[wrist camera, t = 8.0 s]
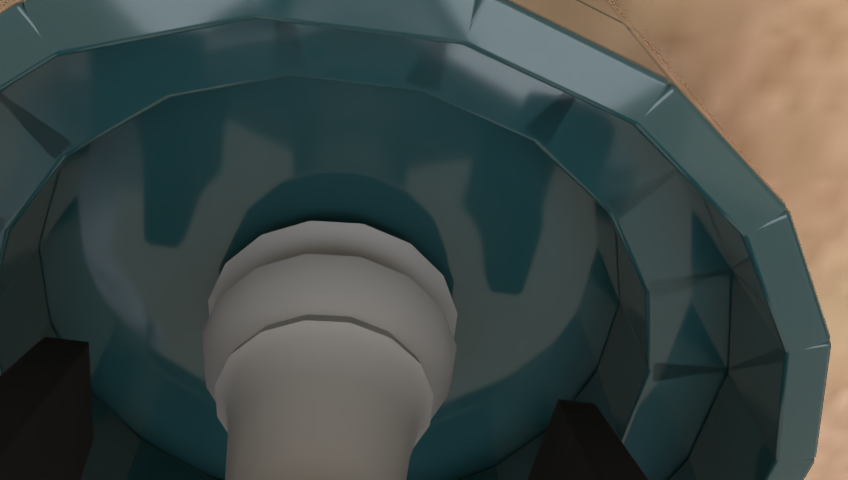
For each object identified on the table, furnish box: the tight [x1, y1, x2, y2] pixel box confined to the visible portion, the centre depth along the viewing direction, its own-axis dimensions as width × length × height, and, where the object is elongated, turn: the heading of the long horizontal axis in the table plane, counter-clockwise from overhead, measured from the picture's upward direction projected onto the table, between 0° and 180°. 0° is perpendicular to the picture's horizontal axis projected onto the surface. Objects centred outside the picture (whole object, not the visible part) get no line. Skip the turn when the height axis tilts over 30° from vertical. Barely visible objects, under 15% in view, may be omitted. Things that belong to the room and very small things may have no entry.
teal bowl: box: [0, 0, 831, 480], centre depth 13 cm, size 14×14×4 cm
